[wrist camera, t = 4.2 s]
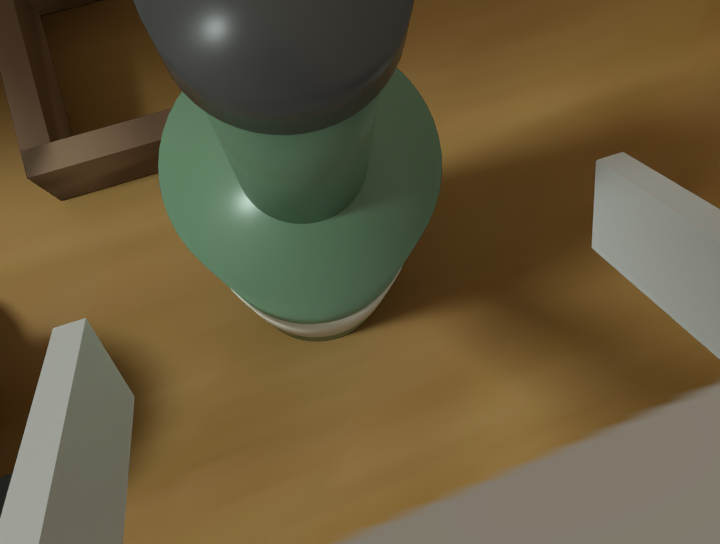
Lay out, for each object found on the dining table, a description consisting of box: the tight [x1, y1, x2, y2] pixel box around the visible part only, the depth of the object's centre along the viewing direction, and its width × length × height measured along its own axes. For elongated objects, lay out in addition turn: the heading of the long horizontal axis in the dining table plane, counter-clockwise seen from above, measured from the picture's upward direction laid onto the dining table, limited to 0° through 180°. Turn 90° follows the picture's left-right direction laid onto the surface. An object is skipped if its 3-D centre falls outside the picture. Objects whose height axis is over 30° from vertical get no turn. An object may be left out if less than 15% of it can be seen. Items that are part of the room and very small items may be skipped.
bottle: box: [133, 0, 442, 341], centre depth 16 cm, size 6×6×20 cm
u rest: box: [0, 0, 172, 201], centre depth 26 cm, size 10×10×3 cm
